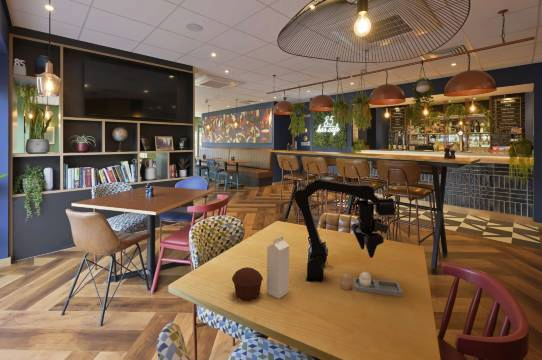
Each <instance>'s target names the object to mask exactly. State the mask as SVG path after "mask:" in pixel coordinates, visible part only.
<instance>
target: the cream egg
mask: <svg viewBox="0 0 542 360" xmlns="http://www.w3.org/2000/svg"><path fill="white" fill-rule="evenodd" d="M358 278H359V287H368V288H371V279H372V276H371V273H369V272H367V271H363V272H361V273H360V274H359V277H358Z"/></svg>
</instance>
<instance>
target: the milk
mask: <svg viewBox="0 0 542 360" xmlns="http://www.w3.org/2000/svg"><path fill="white" fill-rule="evenodd" d="M272 242H273V243H272V244H269V245H267V246H266V248H267V249H266V252H267V253H266V293H267V295H270V296H272V297H274V298H277V299H281V298H282V297H284V296H285V295H287V294H288V293H289V287H290V286H289V283H290V281H289V279H290V272H289V271H290V245H289V244H288V243H287V242H286V240H284V235H282V236H280V237H278V238H277V237H276V238H275V239H273V240H272Z"/></svg>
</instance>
